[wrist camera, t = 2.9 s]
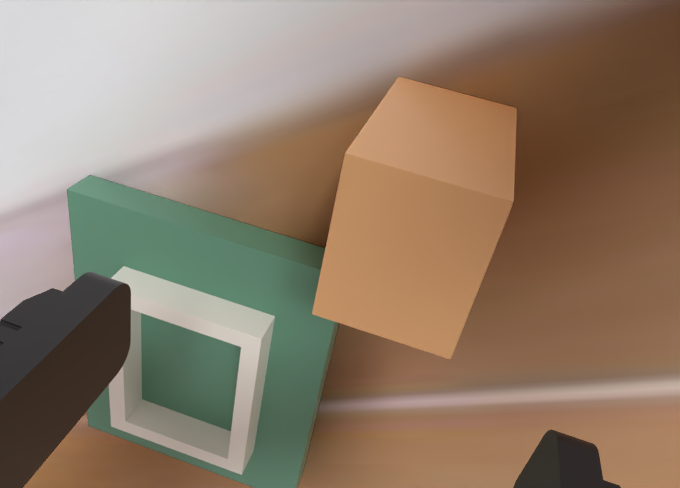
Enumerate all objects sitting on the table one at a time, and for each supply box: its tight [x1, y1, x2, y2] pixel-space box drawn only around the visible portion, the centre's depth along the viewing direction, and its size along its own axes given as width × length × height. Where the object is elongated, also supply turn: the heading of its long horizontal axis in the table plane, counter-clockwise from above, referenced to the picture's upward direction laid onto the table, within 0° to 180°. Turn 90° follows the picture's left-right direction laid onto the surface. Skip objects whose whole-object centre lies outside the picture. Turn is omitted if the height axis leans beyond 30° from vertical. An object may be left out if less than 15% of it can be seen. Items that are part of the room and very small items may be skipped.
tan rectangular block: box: [312, 77, 517, 359], centre depth 18 cm, size 4×6×7 cm
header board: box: [67, 175, 339, 488], centre depth 27 cm, size 12×15×3 cm
